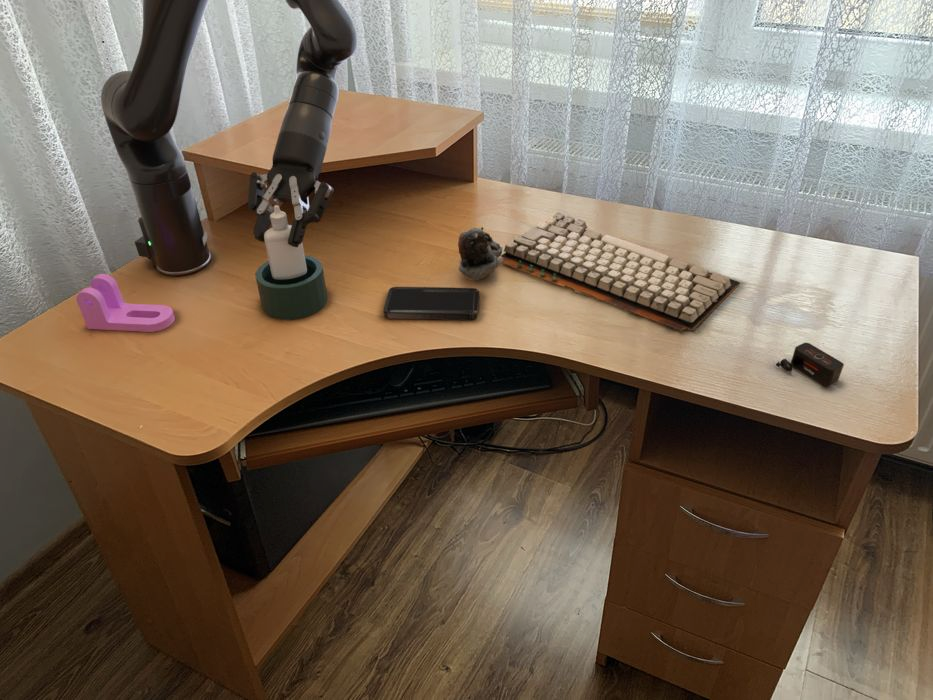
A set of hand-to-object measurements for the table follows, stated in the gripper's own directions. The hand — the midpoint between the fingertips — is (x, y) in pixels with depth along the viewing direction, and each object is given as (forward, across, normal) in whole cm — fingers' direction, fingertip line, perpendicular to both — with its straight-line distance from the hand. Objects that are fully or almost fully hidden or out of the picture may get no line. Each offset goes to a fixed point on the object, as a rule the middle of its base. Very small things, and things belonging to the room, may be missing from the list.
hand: (275, 242), depth 113 cm
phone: (+3, -22, -14) cm, 26 cm away
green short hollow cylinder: (+7, 0, -10) cm, 12 cm away
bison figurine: (-6, -26, -23) cm, 36 cm away
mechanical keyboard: (-10, -48, -28) cm, 56 cm away
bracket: (+17, +22, -1) cm, 27 cm away
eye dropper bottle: (+4, 0, -6) cm, 7 cm away
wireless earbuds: (+3, -79, -14) cm, 80 cm away
